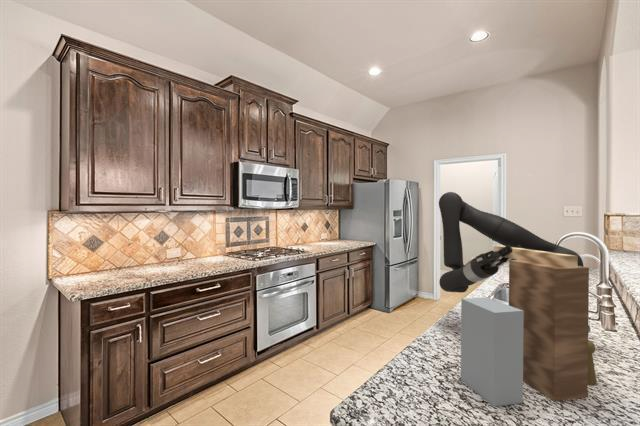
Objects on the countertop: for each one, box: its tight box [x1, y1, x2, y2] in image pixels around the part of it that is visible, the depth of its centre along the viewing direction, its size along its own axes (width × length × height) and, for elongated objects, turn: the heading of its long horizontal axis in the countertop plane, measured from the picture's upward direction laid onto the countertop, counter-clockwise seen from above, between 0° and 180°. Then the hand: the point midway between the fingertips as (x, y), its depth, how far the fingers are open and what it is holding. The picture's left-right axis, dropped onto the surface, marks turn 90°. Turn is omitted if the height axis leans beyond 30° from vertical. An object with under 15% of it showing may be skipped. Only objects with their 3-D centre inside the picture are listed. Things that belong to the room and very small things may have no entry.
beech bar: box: [493, 245, 578, 268], centre depth 88 cm, size 24×3×3 cm, turn 12°
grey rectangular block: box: [460, 297, 524, 408], centre depth 79 cm, size 12×8×22 cm, turn 12°
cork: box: [588, 339, 598, 386], centre depth 85 cm, size 6×6×11 cm
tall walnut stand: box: [508, 259, 590, 402], centre depth 83 cm, size 14×10×32 cm
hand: (515, 248), depth 93 cm, fingers closed on beech bar, 3 cm apart
